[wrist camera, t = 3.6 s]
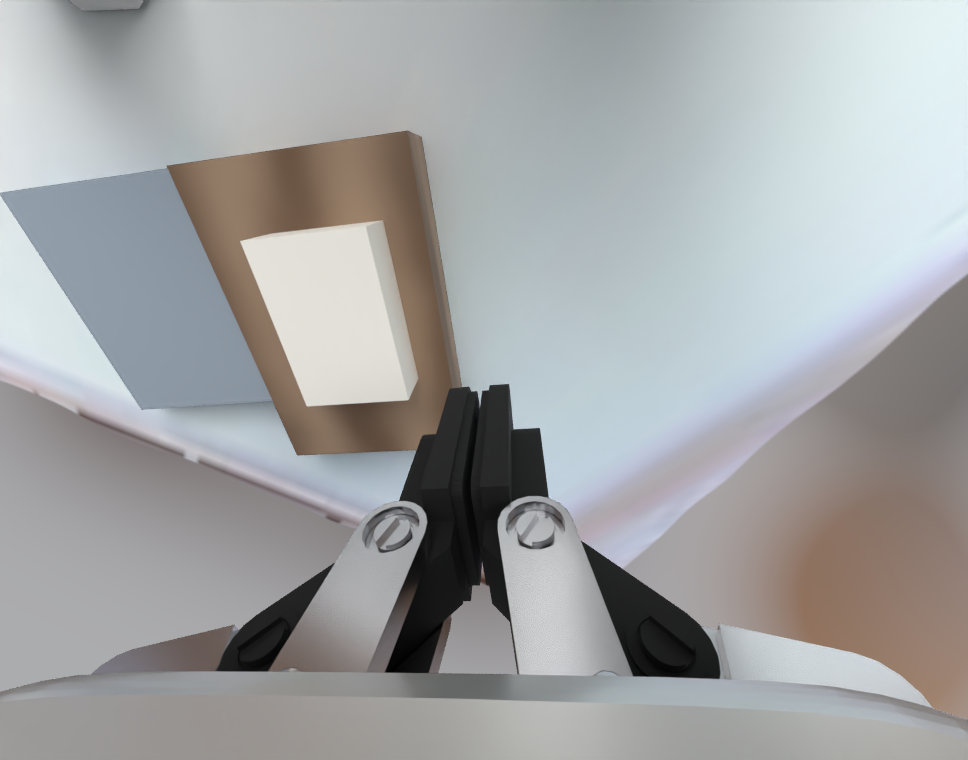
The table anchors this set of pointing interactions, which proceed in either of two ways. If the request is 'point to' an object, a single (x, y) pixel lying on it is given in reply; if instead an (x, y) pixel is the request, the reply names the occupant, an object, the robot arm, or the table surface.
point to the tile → (336, 312)
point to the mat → (142, 287)
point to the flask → (106, 4)
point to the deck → (324, 203)
